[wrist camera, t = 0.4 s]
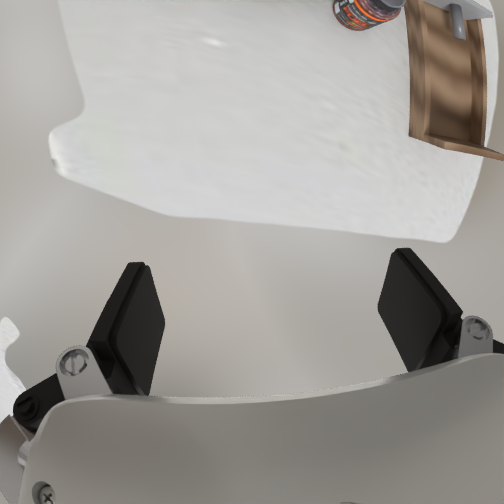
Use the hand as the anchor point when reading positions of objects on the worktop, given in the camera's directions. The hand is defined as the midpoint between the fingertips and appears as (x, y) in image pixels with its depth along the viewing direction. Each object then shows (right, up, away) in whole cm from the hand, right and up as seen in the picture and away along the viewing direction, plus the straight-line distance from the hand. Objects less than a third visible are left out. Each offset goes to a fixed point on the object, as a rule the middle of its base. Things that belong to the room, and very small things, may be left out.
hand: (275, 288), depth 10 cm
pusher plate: (+29, +37, +13) cm, 48 cm away
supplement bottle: (+13, +34, +15) cm, 39 cm away
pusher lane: (+29, +30, +18) cm, 46 cm away
